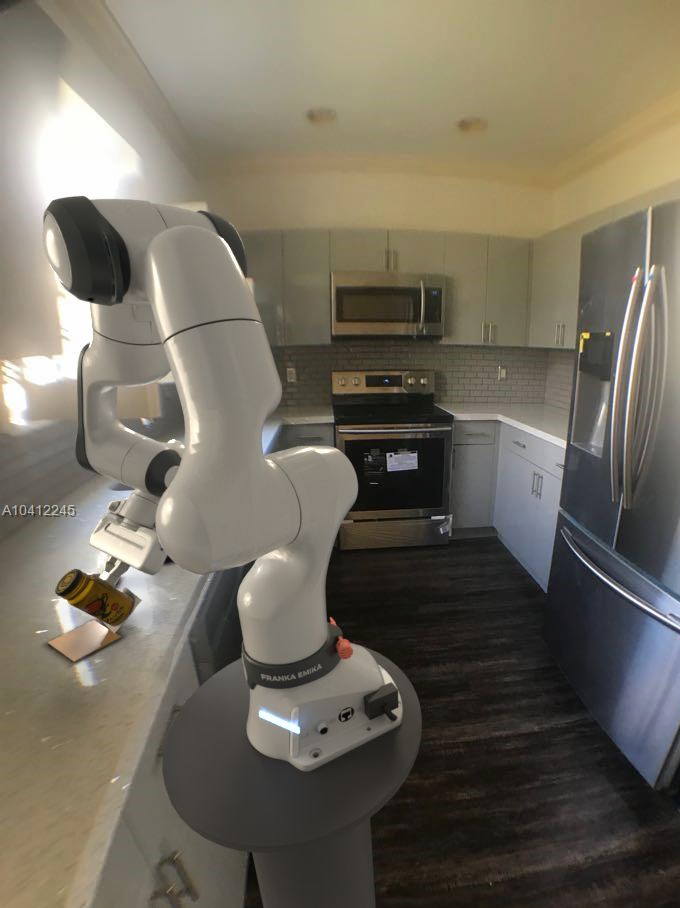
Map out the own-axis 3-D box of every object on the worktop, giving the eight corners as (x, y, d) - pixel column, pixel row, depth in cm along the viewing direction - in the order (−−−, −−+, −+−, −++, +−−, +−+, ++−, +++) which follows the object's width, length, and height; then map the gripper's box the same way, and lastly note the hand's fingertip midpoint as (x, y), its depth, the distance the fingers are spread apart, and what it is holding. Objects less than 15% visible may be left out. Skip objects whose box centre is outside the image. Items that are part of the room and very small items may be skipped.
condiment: (115, 634, 84) (55, 603, 76) (100, 618, 90) (43, 588, 82) (143, 600, 87) (88, 567, 79) (126, 587, 92) (74, 555, 85)
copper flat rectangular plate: (93, 621, 89) (93, 619, 89) (121, 637, 84) (120, 636, 84) (48, 643, 83) (47, 642, 83) (74, 662, 78) (74, 661, 78)
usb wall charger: (95, 590, 100) (90, 574, 99) (106, 575, 106) (102, 559, 105) (115, 588, 101) (110, 572, 99) (125, 573, 107) (121, 557, 106)
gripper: (189, 536, 87) (150, 604, 83) (132, 513, 97) (94, 572, 94) (162, 522, 82) (119, 594, 78) (105, 500, 92) (65, 561, 89)
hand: (105, 582), depth 86 cm, fingers closed, pressing on condiment
